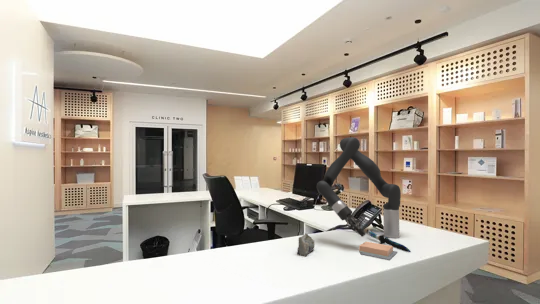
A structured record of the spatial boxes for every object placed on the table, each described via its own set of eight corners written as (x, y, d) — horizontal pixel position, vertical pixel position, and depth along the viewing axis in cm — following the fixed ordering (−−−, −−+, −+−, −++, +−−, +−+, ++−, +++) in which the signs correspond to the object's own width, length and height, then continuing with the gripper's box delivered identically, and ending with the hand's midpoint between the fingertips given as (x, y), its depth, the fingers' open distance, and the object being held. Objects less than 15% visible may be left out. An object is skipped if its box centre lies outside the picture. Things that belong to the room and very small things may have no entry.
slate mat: (370, 247, 150) (370, 246, 150) (397, 252, 141) (397, 251, 141) (360, 254, 138) (360, 253, 138) (389, 260, 129) (389, 259, 129)
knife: (365, 236, 168) (366, 229, 168) (369, 235, 169) (370, 228, 169) (406, 257, 140) (407, 248, 140) (411, 256, 141) (411, 248, 141)
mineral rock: (312, 248, 148) (312, 229, 148) (323, 254, 138) (323, 234, 139) (291, 251, 143) (291, 231, 143) (301, 257, 133) (301, 236, 133)
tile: (365, 241, 149) (393, 246, 140) (365, 247, 149) (393, 252, 140) (359, 245, 141) (387, 251, 133) (359, 251, 141) (387, 257, 132)
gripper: (341, 206, 146) (364, 233, 138) (350, 204, 157) (372, 228, 149) (332, 215, 149) (354, 242, 141) (342, 212, 160) (363, 237, 152)
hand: (363, 235), depth 145 cm, fingers closed
